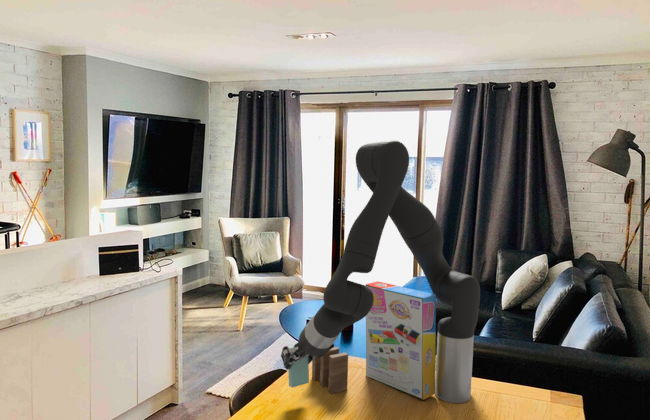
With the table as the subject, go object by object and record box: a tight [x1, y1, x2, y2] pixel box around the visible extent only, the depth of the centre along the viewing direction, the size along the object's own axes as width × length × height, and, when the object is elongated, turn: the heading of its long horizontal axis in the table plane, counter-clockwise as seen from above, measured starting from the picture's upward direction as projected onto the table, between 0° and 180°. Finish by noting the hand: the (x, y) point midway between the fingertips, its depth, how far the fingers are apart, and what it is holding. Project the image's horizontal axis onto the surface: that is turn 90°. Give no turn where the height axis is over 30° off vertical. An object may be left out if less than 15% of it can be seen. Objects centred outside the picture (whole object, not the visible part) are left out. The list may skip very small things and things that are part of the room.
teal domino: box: [288, 345, 310, 388], centre depth 134 cm, size 2×5×10 cm, turn 122°
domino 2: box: [319, 346, 340, 388], centre depth 144 cm, size 2×5×10 cm, turn 120°
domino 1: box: [311, 356, 321, 382], centre depth 148 cm, size 2×5×10 cm, turn 121°
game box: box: [365, 281, 437, 400], centre depth 143 cm, size 21×6×27 cm, turn 42°
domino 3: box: [327, 351, 349, 395], centre depth 140 cm, size 2×5×10 cm, turn 121°
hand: (296, 363), depth 135 cm, fingers closed on teal domino, 5 cm apart
